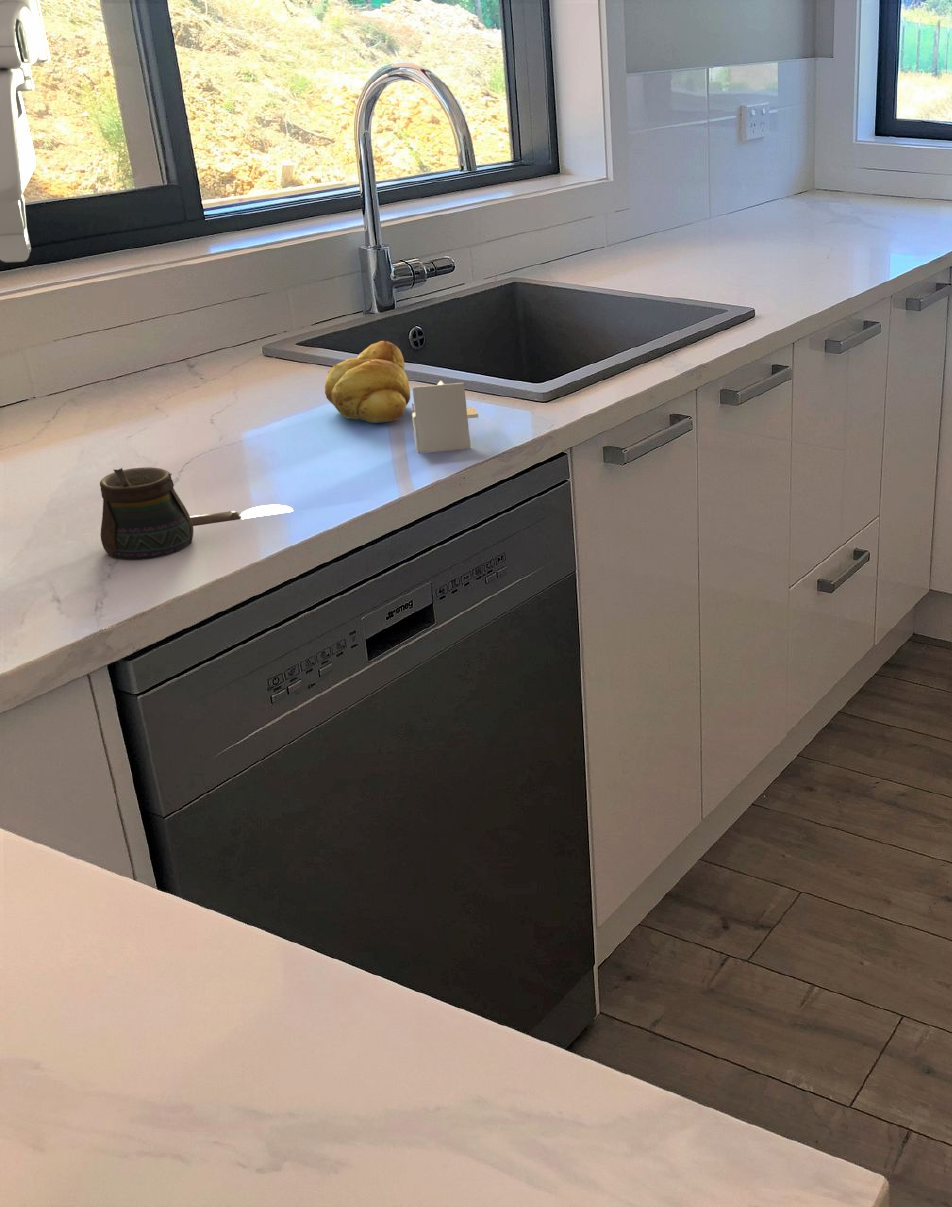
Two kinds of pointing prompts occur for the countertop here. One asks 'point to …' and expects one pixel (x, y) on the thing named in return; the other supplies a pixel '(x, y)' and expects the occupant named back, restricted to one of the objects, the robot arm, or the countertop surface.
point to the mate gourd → (143, 515)
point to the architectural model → (441, 417)
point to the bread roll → (370, 384)
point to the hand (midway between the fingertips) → (16, 258)
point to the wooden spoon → (236, 516)
